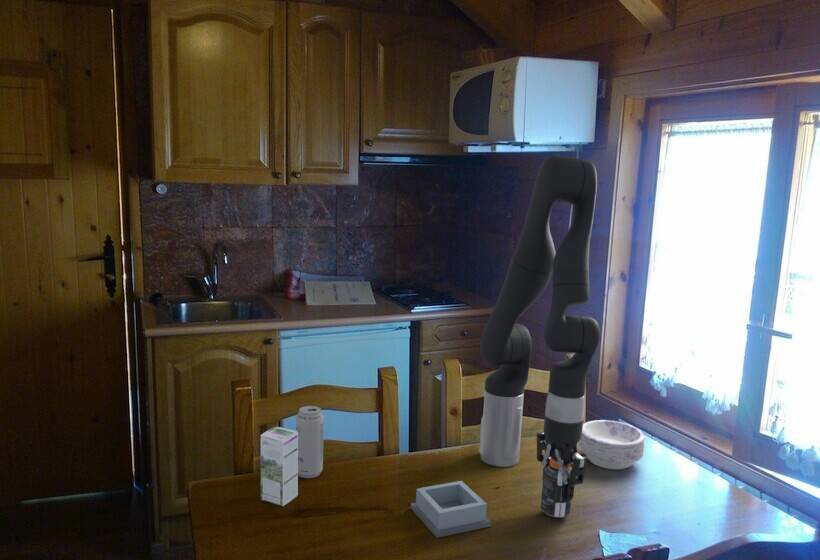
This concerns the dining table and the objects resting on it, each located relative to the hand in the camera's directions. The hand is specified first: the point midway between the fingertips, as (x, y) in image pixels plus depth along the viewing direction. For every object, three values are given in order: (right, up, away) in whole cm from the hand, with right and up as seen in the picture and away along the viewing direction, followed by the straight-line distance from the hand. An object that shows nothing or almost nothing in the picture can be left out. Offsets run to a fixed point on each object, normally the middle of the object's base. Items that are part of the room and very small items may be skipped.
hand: (556, 491), depth 140 cm
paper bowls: (+19, -1, +28) cm, 33 cm away
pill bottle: (0, -4, +1) cm, 4 cm away
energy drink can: (-53, -1, +15) cm, 55 cm away
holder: (-22, -5, -2) cm, 22 cm away
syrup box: (-57, -2, +3) cm, 57 cm away
